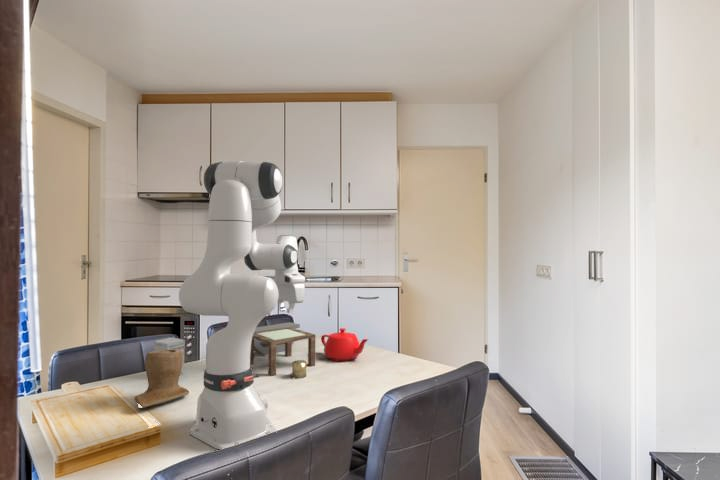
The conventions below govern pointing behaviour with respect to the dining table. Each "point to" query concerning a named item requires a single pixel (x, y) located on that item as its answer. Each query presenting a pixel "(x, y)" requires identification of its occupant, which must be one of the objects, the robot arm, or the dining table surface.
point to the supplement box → (171, 346)
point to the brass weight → (299, 369)
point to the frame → (287, 347)
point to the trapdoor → (280, 334)
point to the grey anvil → (264, 348)
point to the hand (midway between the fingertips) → (286, 312)
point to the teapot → (342, 346)
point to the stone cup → (162, 378)
